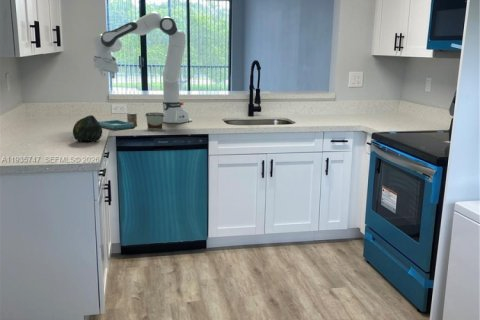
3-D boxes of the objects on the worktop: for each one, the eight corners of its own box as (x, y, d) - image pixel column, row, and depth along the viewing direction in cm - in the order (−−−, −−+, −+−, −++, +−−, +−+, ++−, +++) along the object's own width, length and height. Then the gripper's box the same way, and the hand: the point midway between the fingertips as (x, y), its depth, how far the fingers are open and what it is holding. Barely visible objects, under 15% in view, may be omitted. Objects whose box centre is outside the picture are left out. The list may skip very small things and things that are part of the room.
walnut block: (133, 124, 312) (132, 113, 310) (136, 125, 309) (136, 113, 307) (127, 125, 309) (127, 113, 307) (131, 126, 306) (130, 114, 304)
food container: (166, 127, 302) (166, 112, 300) (164, 129, 296) (164, 113, 294) (148, 127, 303) (148, 112, 301) (145, 128, 298) (145, 113, 295)
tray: (117, 124, 312) (117, 119, 311) (134, 128, 298) (133, 123, 298) (98, 126, 302) (98, 121, 302) (114, 130, 289) (114, 125, 288)
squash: (66, 129, 252) (74, 111, 243) (92, 128, 263) (100, 110, 254) (75, 150, 247) (84, 131, 238) (101, 147, 257) (110, 130, 248)
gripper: (96, 53, 305) (101, 73, 303) (117, 59, 323) (121, 77, 321) (89, 57, 307) (94, 76, 306) (110, 62, 326) (115, 80, 324)
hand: (108, 77), depth 314 cm, fingers open, 8 cm apart
